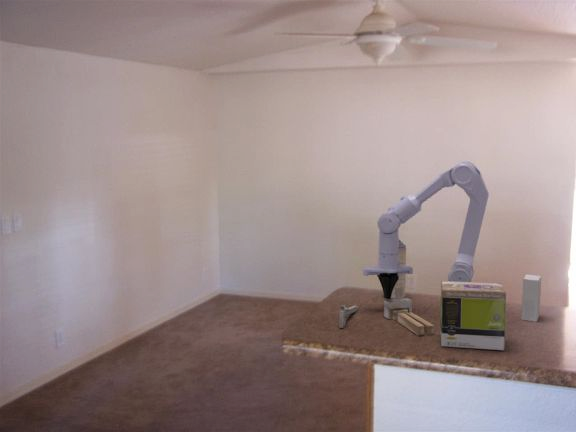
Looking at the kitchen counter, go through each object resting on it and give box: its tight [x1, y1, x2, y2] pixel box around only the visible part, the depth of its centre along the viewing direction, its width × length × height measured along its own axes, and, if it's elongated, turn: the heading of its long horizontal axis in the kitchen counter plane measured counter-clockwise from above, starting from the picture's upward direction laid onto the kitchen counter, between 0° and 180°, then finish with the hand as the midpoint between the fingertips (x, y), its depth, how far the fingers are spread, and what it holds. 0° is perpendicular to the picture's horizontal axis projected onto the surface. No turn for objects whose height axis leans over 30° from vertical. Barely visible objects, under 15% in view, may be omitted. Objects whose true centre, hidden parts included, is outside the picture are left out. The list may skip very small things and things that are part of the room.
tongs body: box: [390, 308, 435, 336], centre depth 165 cm, size 4×18×2 cm, turn 17°
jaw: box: [395, 311, 425, 336], centre depth 163 cm, size 2×14×2 cm, turn 15°
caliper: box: [338, 305, 359, 329], centre depth 171 cm, size 20×1×6 cm, turn 162°
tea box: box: [439, 280, 507, 351], centre depth 150 cm, size 15×10×15 cm
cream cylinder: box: [382, 239, 407, 299], centre depth 191 cm, size 7×7×20 cm
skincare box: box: [520, 274, 542, 323], centre depth 170 cm, size 6×4×12 cm
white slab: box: [383, 297, 413, 320], centre depth 172 cm, size 7×3×5 cm, turn 107°
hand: (387, 298), depth 178 cm, fingers closed
